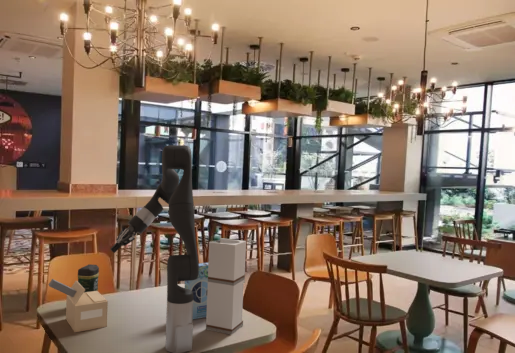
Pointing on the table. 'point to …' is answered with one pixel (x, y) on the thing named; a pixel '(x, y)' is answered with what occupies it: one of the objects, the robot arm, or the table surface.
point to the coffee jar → (89, 277)
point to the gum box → (199, 291)
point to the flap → (69, 289)
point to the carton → (87, 312)
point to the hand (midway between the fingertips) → (112, 251)
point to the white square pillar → (225, 285)
